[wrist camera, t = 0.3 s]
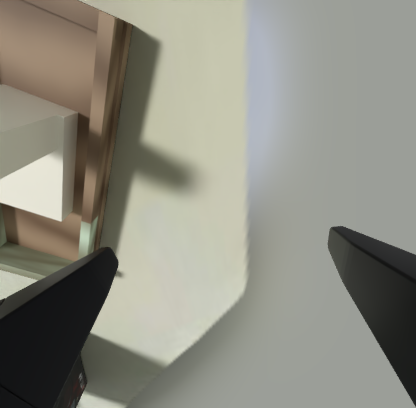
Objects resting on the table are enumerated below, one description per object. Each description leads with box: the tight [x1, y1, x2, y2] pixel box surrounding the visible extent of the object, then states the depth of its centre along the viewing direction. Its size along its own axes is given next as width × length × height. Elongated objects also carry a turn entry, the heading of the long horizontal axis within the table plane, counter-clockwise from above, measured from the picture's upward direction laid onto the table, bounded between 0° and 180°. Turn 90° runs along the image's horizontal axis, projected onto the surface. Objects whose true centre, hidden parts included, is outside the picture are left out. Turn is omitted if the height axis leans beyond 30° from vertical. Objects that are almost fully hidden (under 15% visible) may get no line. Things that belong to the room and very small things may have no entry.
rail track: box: [0, 0, 133, 280], centre depth 22 cm, size 28×12×4 cm, turn 160°
